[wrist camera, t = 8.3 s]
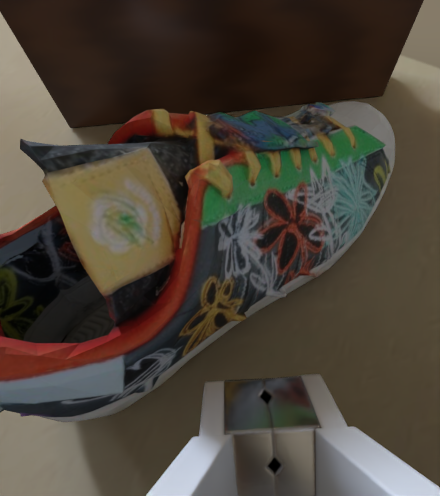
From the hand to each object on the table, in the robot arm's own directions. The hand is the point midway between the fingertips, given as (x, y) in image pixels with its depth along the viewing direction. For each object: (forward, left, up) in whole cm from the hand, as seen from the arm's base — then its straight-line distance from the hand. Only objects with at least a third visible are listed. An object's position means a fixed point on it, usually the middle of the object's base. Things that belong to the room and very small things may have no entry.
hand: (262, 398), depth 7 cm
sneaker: (0, -7, -5) cm, 9 cm away
